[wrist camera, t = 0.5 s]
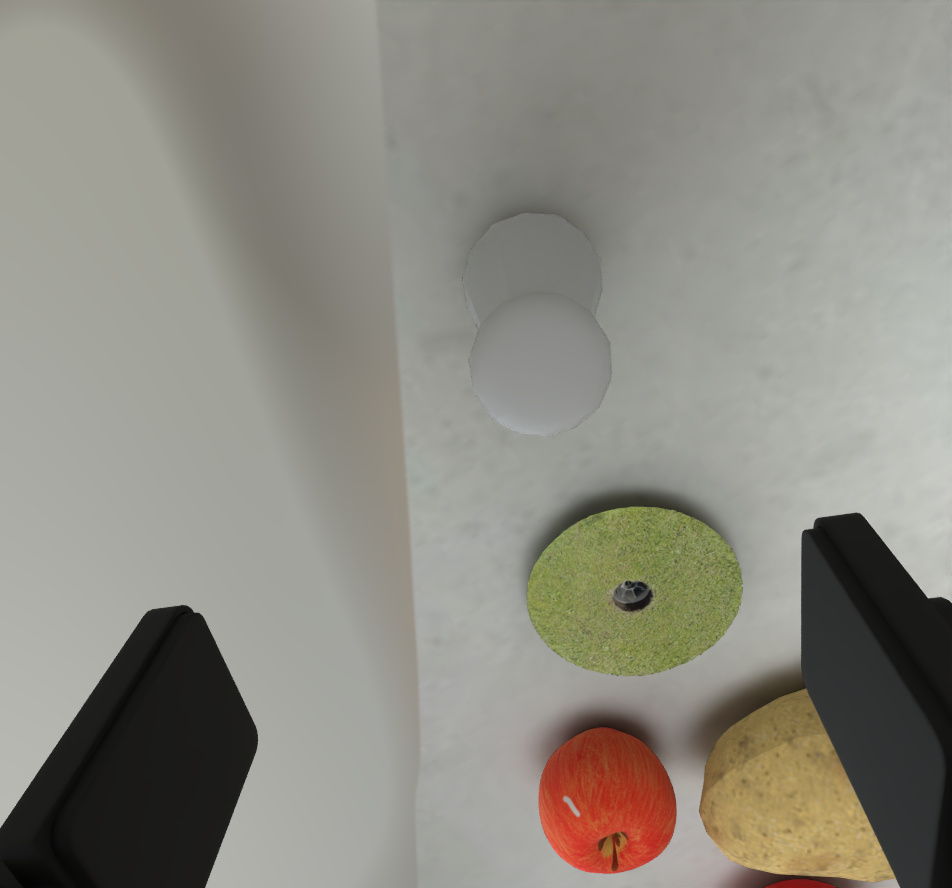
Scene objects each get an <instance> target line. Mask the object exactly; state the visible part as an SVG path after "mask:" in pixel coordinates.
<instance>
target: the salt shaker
mask: <svg viewBox="0 0 952 888" xmlns="http://www.w3.org/2000/svg"><path fill="white" fill-rule="evenodd" d="M462 279H463V285H464V291H465V297H466V303H467V309H468V310H469V312H470V314H471V316H472V318H473V320H474V322H475V324H476V326H477V328H478V329H479V330H478V333H477V336H476V339H475V342H474V345H473V348H472V351H471V353H470V356H469V359H468V360H469V366H470V371H471V377H472V383H473V389H474V392H475V395H476V397H477V398H478V400H479V401H480V403H481V404H482V405H483V407H484V408H485V410H486V411H487V412H488V414H489V415H490V417H491V418H492V419H493V420H494V421H496V422H498V423H500V424H502V425H504V426H506V427H507V428H509V429H511V430H513V431H515V432H517V433H520V434H530V435H540V436H550V435H553V434H557V433H560V432H563V431H566V430H569V429H572V428H575V427H577V426H578V425H579V424H580V423H582V422H583V421H584V420H585V419H586V418H587V417H589V416H590V415H591V414H592V413H593V412H594V411H596V410H597V409H598V408H599V407H600V404H601V402H602V400H603V397H604V395H605V392H606V390H607V388H608V385H609V383H610V380H611V374H612V369H611V351H610V341H609V339H608V338H607V336H606V334H605V333H604V331H603V330H602V328H601V327H600V325H599V323H598V322H597V320H596V319H595V317H594V316H595V313H596V310H597V306H598V303H599V300H600V296H601V293H602V278H601V260H600V258H599V256H598V254H597V253H596V251H595V250H594V248H593V246H592V245H591V243H590V241H589V240H588V238H587V237H586V235H585V233H584V232H582V231H581V230H579V229H578V228H576V227H575V226H573V225H572V224H570V223H569V222H567V221H566V220H564V219H563V218H561V217H560V216H558V215H554V214H538V213H522V214H519V215H516V216H514V217H511V218H508V219H505V220H503V221H500V222H497V223H494V224H493V225H492V226H491V227H490V228H489V229H488V231H487V232H486V233H485V234H484V235H483V236H482V237H481V238H480V240H479V241H478V242H477V243H476V244H475V245H474V246H473V247H472V249H471V252H470V256H469V259H468V262H467V265H466V268H465V271H464V274H463V277H462Z"/></svg>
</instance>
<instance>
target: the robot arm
mask: <svg viewBox="0 0 952 888" xmlns="http://www.w3.org/2000/svg"><path fill="white" fill-rule="evenodd" d="M801 668H802V675H803V680H804V683H805V687H806V689H807V692H808V694H809V696H810V698H811V700H812V703H813V705H814V707H815V709H816V711H817V713H818V715H819V717H820V719H821V722H822V724H823V726H824V728H825V730H826V732H827V734H828V736H829V738H830V741H831V743H832V745H833V747H834V749H835V751H836V753H837V755H838V757H839V759H840V762H841V764H842V766H843V768H844V770H845V772H846V774H847V776H848V778H849V781H850V783H851V785H852V787H853V789H854V791H855V793H856V795H857V797H858V800H859V802H860V804H861V806H862V808H863V810H864V812H865V814H866V816H867V818H868V821H869V823H870V825H871V827H872V829H873V831H874V833H875V835H876V837H877V840H878V842H879V844H880V846H881V848H882V850H883V852H884V854H885V856H886V858H887V861H888V863H889V865H890V867H891V869H892V871H893V873H894V875H895V877H896V880H897V882H898V884H899V886H900V888H952V603H951V602H950V601H949V600H947V599H944V598H942V597H937V598H929V599H928V598H927V596H926V595H925V594H924V593H923V591H922V590H921V589H920V588H919V586H918V585H917V584H916V583H915V581H914V580H913V579H912V577H911V576H910V575H909V574H908V572H907V571H906V570H905V569H904V567H903V566H902V565H901V563H900V562H899V561H898V560H897V558H896V557H895V556H894V555H893V553H892V552H891V551H890V549H889V548H888V547H887V546H886V544H885V543H884V542H883V541H882V539H881V538H880V537H879V535H878V534H877V533H876V532H875V530H874V529H873V528H872V527H871V525H870V524H869V523H868V522H867V520H866V519H865V518H864V517H863V516H862V515H861V514H860V513H851V514H843V515H836V516H829V517H821V518H817V519H816V520H815V522H814V528H813V529H808V530H804V531H803V533H802V551H801ZM257 745H258V734H257V729H256V726H255V724H254V722H253V720H252V718H251V716H250V714H249V711H248V709H247V707H246V705H245V703H244V701H243V699H242V697H241V695H240V693H239V690H238V688H237V686H236V684H235V682H234V680H233V678H232V676H231V674H230V672H229V670H228V668H227V665H226V663H225V661H224V659H223V657H222V655H221V653H220V651H219V649H218V647H217V644H216V642H215V640H214V638H213V636H212V634H211V632H210V630H209V628H208V626H207V624H206V621H205V619H204V618H203V616H202V615H201V614H200V613H194V612H193V610H192V609H191V608H190V607H188V606H185V605H181V606H174V607H167V608H159V609H152V610H150V611H148V612H147V613H146V614H145V615H144V616H143V618H142V619H141V621H140V622H139V624H138V625H137V627H136V628H135V630H134V631H133V633H132V634H131V635H130V637H129V639H128V640H127V641H126V643H125V644H124V646H123V647H122V649H121V650H120V652H119V653H118V655H117V656H116V658H115V659H114V661H113V662H112V664H111V665H110V667H109V668H108V670H107V671H106V673H105V674H104V675H103V677H102V679H101V680H100V681H99V683H98V684H97V686H96V687H95V689H94V690H93V692H92V693H91V695H90V696H89V698H88V699H87V701H86V702H85V704H84V705H83V707H82V708H81V710H80V711H79V713H78V714H77V716H76V717H75V718H74V720H73V721H72V723H71V724H70V726H69V727H68V729H67V730H66V732H65V733H64V735H63V736H62V738H61V739H60V741H59V742H58V744H57V745H56V747H55V748H54V750H53V751H52V753H51V754H50V755H49V757H48V759H47V760H46V761H45V763H44V764H43V766H42V767H41V769H40V770H39V772H38V773H37V775H36V776H35V778H34V779H33V781H32V782H31V784H30V785H29V787H28V788H27V789H26V791H25V792H24V794H23V795H22V797H21V799H20V800H19V801H18V803H17V804H16V806H15V807H14V809H13V810H12V812H11V813H10V815H9V816H8V818H7V819H6V821H5V822H4V824H3V825H2V827H1V828H0V888H205V886H206V884H207V881H208V878H209V876H210V873H211V870H212V868H213V865H214V862H215V860H216V857H217V854H218V852H219V849H220V847H221V844H222V841H223V838H224V836H225V833H226V831H227V828H228V825H229V823H230V820H231V817H232V814H233V812H234V809H235V806H236V804H237V801H238V798H239V796H240V793H241V790H242V788H243V785H244V783H245V780H246V777H247V774H248V772H249V769H250V767H251V764H252V761H253V759H254V756H255V753H256V750H257Z"/></svg>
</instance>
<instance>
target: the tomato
mask: <svg viewBox="0 0 952 888" xmlns="http://www.w3.org/2000/svg"><path fill="white" fill-rule="evenodd" d="M765 888H836V887H834V886H832V885H830V884H827V883H823V882H819V881H814V880H809V879H790V880H785V881H779V882H777V883H774V884H771V885H769V886H766V887H765Z"/></svg>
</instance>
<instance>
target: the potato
mask: <svg viewBox="0 0 952 888" xmlns="http://www.w3.org/2000/svg"><path fill="white" fill-rule="evenodd" d="M699 813H700V816H701V818H702V821H703V824H704V827H705V829H706V832H707V834H708V835H709V836H710V838H711V839H712V840H713V841H714V843H715V844H716V845H717V847H718V848H719V849H720V850H721V851H722V852H723V853H724V854H725V855H726V856H727V858H728V859H729V860H731V861H733V862H736V863H738V864H740V865H743V866H745V867H748V868H752V869H757V870H761V871H766V872H771V873H775V874H787V875H804V876H824V877H841V878H847V879H854V880H860V881H867V882H878V881H884V880H890V879H896V877H895V875H894V873H893V871H892V869H891V867H890V865H889V863H888V861H887V858H886V856H885V854H884V852H883V850H882V848H881V846H880V844H879V842H878V840H877V837H876V835H875V833H874V831H873V829H872V827H871V825H870V823H869V821H868V818H867V816H866V814H865V812H864V810H863V808H862V806H861V804H860V802H859V800H858V797H857V795H856V793H855V791H854V789H853V787H852V785H851V783H850V781H849V778H848V776H847V774H846V772H845V770H844V768H843V766H842V764H841V762H840V759H839V757H838V755H837V753H836V751H835V749H834V747H833V745H832V743H831V741H830V738H829V736H828V734H827V732H826V730H825V728H824V726H823V724H822V722H821V719H820V717H819V715H818V713H817V711H816V709H815V707H814V705H813V703H812V700H811V698H810V696H809V694H808V692H807V689H803V690H800V691H797V692H794V693H791V694H788V695H785V696H782V697H779V698H777V699H776V700H774V701H772V702H770V703H768V704H767V705H765V706H763V707H761V708H760V709H758V710H756V711H754V712H752V713H751V714H749V715H748V716H746V717H745V718H743V719H742V720H740V721H739V722H737V723H736V724H734V725H733V726H731V727H730V728H729V729H728V730H727V731H726V732H725V733H724V734H723V735H722V736H721V737H720V738H719V740H718V741H717V742H716V743H715V745H714V747H713V749H712V752H711V754H710V756H709V758H708V761H707V763H706V765H705V774H704V784H703V790H702V796H701V802H700V808H699Z"/></svg>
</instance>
